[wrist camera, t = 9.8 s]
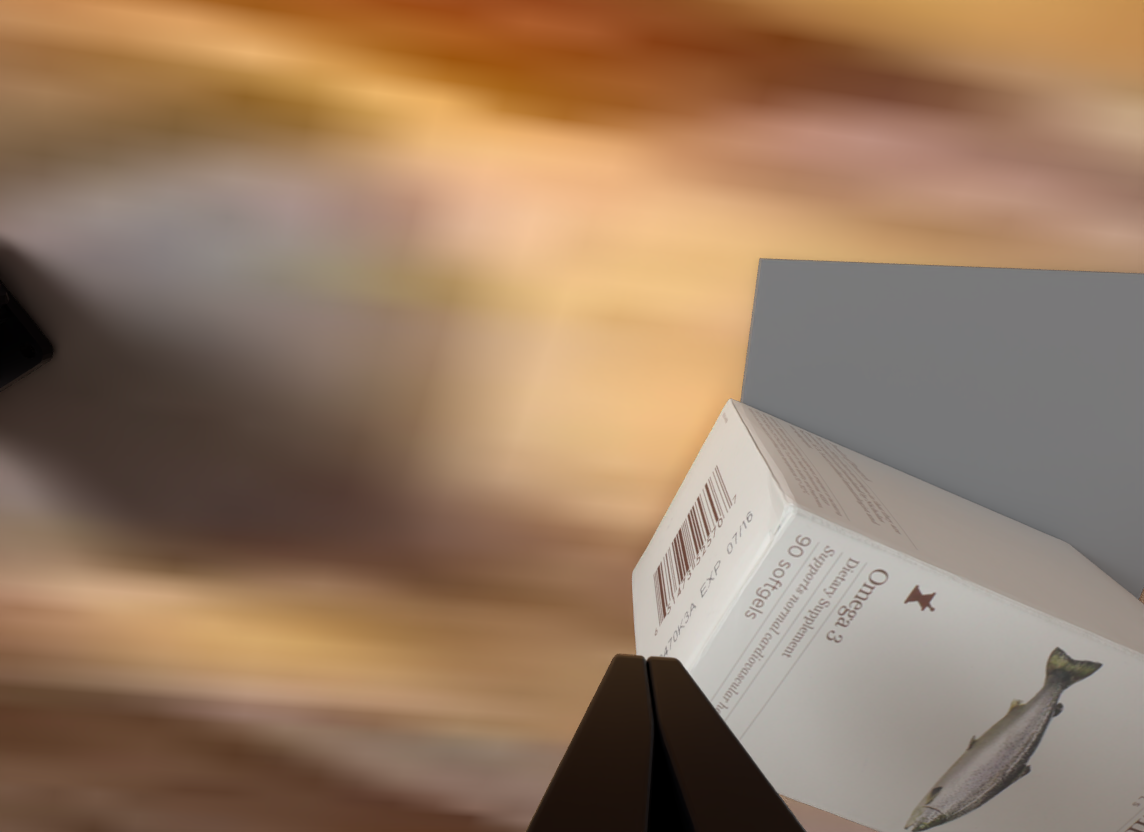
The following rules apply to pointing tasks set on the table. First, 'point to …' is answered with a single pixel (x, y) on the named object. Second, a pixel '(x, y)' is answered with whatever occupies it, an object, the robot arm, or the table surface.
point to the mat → (971, 386)
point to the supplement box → (895, 641)
